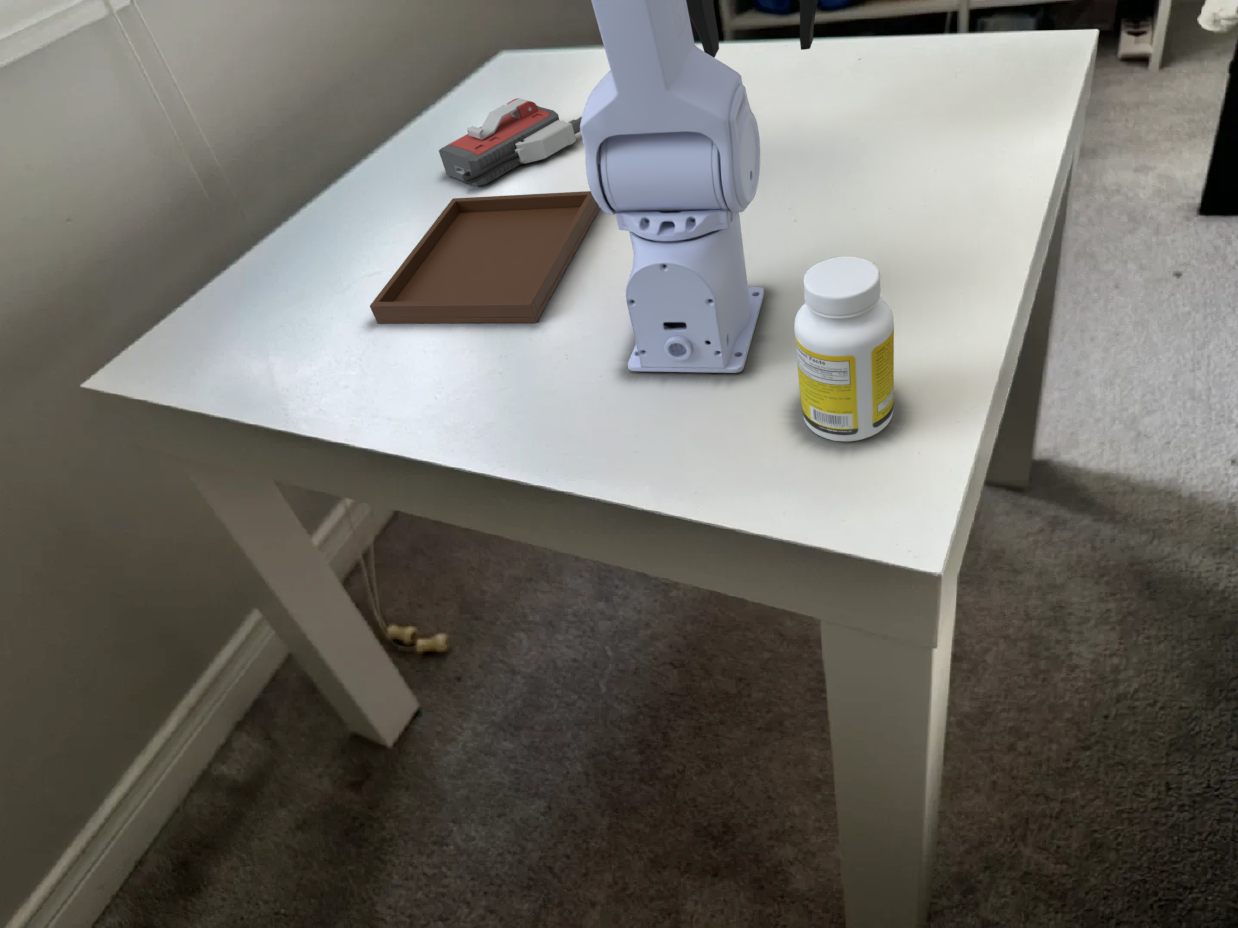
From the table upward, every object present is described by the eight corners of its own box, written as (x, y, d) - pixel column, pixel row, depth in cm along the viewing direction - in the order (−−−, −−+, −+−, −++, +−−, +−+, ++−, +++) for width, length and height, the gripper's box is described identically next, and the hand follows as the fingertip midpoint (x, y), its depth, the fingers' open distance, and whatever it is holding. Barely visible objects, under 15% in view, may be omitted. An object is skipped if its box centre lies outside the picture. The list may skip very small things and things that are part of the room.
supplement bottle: (873, 376, 57) (872, 239, 50) (908, 430, 53) (912, 288, 46) (789, 399, 57) (777, 264, 50) (818, 454, 53) (809, 315, 46)
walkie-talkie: (484, 199, 86) (633, 112, 94) (470, 155, 83) (625, 69, 91) (434, 180, 91) (579, 99, 99) (419, 138, 88) (569, 59, 96)
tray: (536, 322, 69) (530, 304, 68) (377, 323, 73) (369, 305, 72) (599, 207, 80) (595, 190, 79) (458, 214, 85) (452, 197, 84)
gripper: (852, -179, 64) (856, 21, 73) (657, -145, 69) (683, 39, 78) (842, -156, 59) (847, 55, 68) (633, -121, 64) (663, 72, 73)
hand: (759, 49), depth 73 cm, fingers open, 7 cm apart
